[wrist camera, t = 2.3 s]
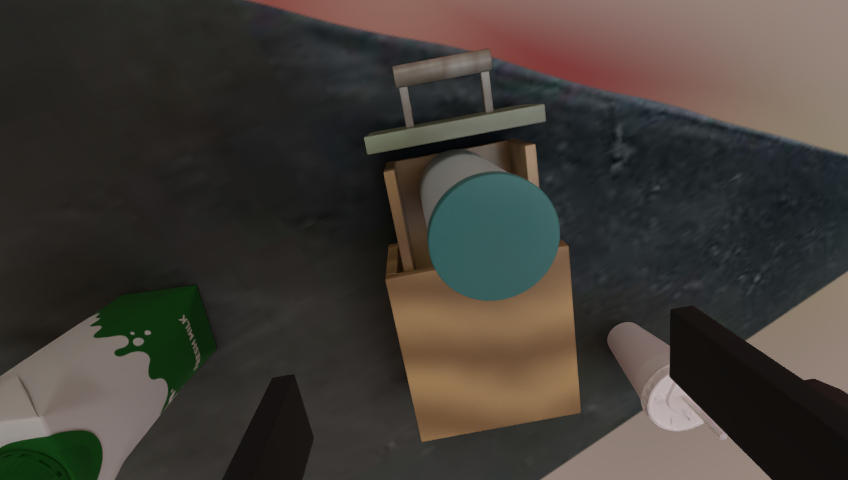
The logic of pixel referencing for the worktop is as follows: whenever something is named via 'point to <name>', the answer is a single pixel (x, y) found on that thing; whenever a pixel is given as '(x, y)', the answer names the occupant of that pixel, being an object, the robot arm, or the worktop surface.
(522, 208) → the container
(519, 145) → the drawer
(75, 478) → the milk carton
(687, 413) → the smoothie
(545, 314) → the cabinet
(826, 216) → the worktop surface
